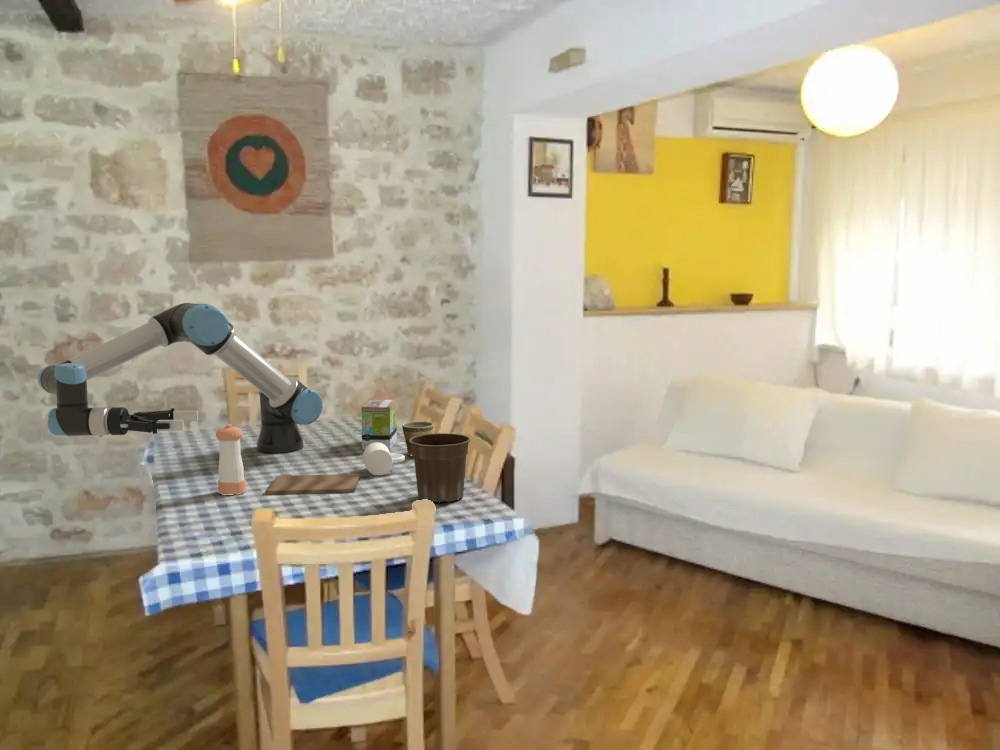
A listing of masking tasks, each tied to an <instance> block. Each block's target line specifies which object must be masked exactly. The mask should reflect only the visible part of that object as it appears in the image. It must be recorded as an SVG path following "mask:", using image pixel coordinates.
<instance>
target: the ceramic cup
mask: <svg viewBox="0 0 1000 750" xmlns="http://www.w3.org/2000/svg"><path fill="white" fill-rule="evenodd" d="M401 427H402V433H403V437H404V440H405V444H406V449H407V455H408V456H409V455H412V456H413V454H412V446H411V443H410V442H409V440H410V438H412V437H415V436H419V435H425V434H433V430H434V423H432V422H429V421H409V422H406V423H403V424H402V426H401Z"/></svg>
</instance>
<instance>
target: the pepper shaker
mask: <svg viewBox="0 0 1000 750" xmlns="http://www.w3.org/2000/svg"><path fill="white" fill-rule="evenodd" d="M243 435H244V434H243V431H242V429H241V428H240V427H237V426H234V425H233V426H232V424H231V423H227V424H226V425H225V426H222V427H220V428H218V429H217V431H216V432H215V437H216V440H218V444H219V445H218V448H219V449H218V450H219V459H218V469H217V470H218V481H217V489H218V491H219V492H220V493H223V494H238V493H243V492H245V491H246V492H247V485H246V483H247V482H246V478H245V477H244V476H245V475H244V469H245V468H244V464H243V458H242V454H241V453H242V451H241V438H242V437H243ZM219 492H218V493H219ZM246 492H245V493H246ZM243 494H244V493H243Z"/></svg>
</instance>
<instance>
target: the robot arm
mask: <svg viewBox="0 0 1000 750" xmlns="http://www.w3.org/2000/svg"><path fill="white" fill-rule="evenodd" d="M181 342H182V343H183V342H186V343H190V344H192V345H194V346H195V347H196V348H198V349H199V350H200V351H201V352H202V353H204V354H205V355H206V356H216V357H217V358H218V359H219V360H221V361H222V362H223V363H225V364H226V365H227V366H229V368H231V369H232V370H234V371H235V373H237V374H238V375H240V377H242V378H243V379H244V380H246V381H247V382H248V383H249V384H251V385H252V386H253V387H255V389H257V390H259V394H258V395H259V406H260V423H261V427H260V430H259V434H258V438H257V441H256V450H257V451H259V452H261V453H267V454H268V453H270V454H274V453H275V454H279V453H280V454H282V453H289V452H294V451H299V450H301V449H303V448H304V439H303V437H302V434H301V431H300V429H299V426H298V425H300V426H301V425H303V426H305V425H307V426H308V425H311V424H313V423H315V422H316V421H317V420H318V418H320V416H321V414H322V413H323V409H324V408H323V407H324V406H323V402H324V401H323V398H322V396H321V394H320V393H319V391H317V390H316V389H313V388H309V387H307V386H306V385H304V384H303V383H302V382H301V381H300V380H298V379H297V378H296V377H295V376H288V377H287V376H286V375H285V374H284V373H282V372H281V371H280V370H279V369H278V368H276V366H274V365H273V364H272V363H270V362H269V361H268V360H267V359H266V358H264V357H263V356H262V355H261V354H260V353H258V352H257V351H256V350H255V349H254V348H252V346H250V345H249V344H248V343H247V342H245V341H244V340H243V339H242V338H240V337H239V336H238V335H237V334H236V333H235V327H234V325H233V324H232V323H231V322H229V320H228V318H227V316H226V314H225V313H224V312H223V310H221V309H220V308H218V307H216V306H214V305H212V304H208V303H207V304H206V303H192V302H183V303H179V304H175V305H174V306H172V307H170V308H168V309H166V310H164V311H162V312H160V313H158V314H155V315H154V316H152V317H150V318H148V320H147V323H144V324H142V325H141V326H138V327H135V328H134V329H131V330H130V331H127V332H125V333H123V334H121V335H118V336H117V337H116V336H115V337H114V338H113V339H109V340H108V341H106V342H104V343H101V344H99V345H97V346H95V347H93V348H91V349H88V350H86V351H84V352H82V353H79V354H78V355H76V356H73V357H70V358H69V359H67V360H64V361H63V362H61V363H58V364H52V365H47V366H45V367H43V368H41V369H40V371H39V373H38V374H37V383H38V386H39V387H41V389H42V390H44V391H45V392H46V393H49V394H53V395H56V407H54V408H52V409H50V410H49V412H48V416H47V417H48V418H47V427H48V429H49V432H50V433H51V434H52V435H54V436H64V437H65V436H67V437H73V436H74V437H75V436H78V437H79V436H81V437H82V436H98V437H99V438H103V437H104V436H108V435H111V436H124V435H126V434H127V433H128V431H131V432H139V433H140V432H142V433H149V434H151V433H152V434H153V435H156V434H158V431H161V432H166V431H168V432H171V431H184V430H185V425H184V422H190V421H192V422H193V421H196V422H197V421H199V411H198V410H175V408H173V407H172V408H170V409H166V410H163V409H162V410H153V411H137V412H134V413H132V414H130V413H129V411H128V408H126V407H124V406H122V407H121V406H120V407H119V406H118V407H117V406H116V407H114V406H113V407H111V408H110V407H106V406H105V407H103V406H101V407H99V406H97V407H89V402H88V400H89V398H88V384H87V383H88V381H90V380H92V379H93V378H95V377H98V376H100V375H102V374H104V373H105V372H108V371H111V370H112V369H115V368H116V367H118V366H121V365H122V364H124V363H125V364H126V362H129V361H131V360H133V359H135V358H137V357H140V356H141V355H144V354H145V353H148V352H150V351H152V350H154V349H155V348H158V347H164V348H166V347H169V346H170V345H173V344H177V343H181Z"/></svg>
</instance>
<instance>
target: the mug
mask: <svg viewBox="0 0 1000 750" xmlns="http://www.w3.org/2000/svg"><path fill="white" fill-rule="evenodd" d="M362 455H363V461H364V464H365V468H366V470H367V471H368V472H369V473H370V474H371V475H374V476H376V475H381V476H385V475H386V474H388V473H389V472H390V471H391V470H392V467H393V465H394V464H397V463H402V462H404V461H405V460H406V459H405V458H406V456H405V455H404V454H402V453H395V452H394V453H393V452H390V450H388V448H387V447H386V446H385V445H384V444H382V443H378V442H376V443H372V444H370V445H368V446H367V447H366V449H365V450H364V451H363V454H362Z"/></svg>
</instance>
